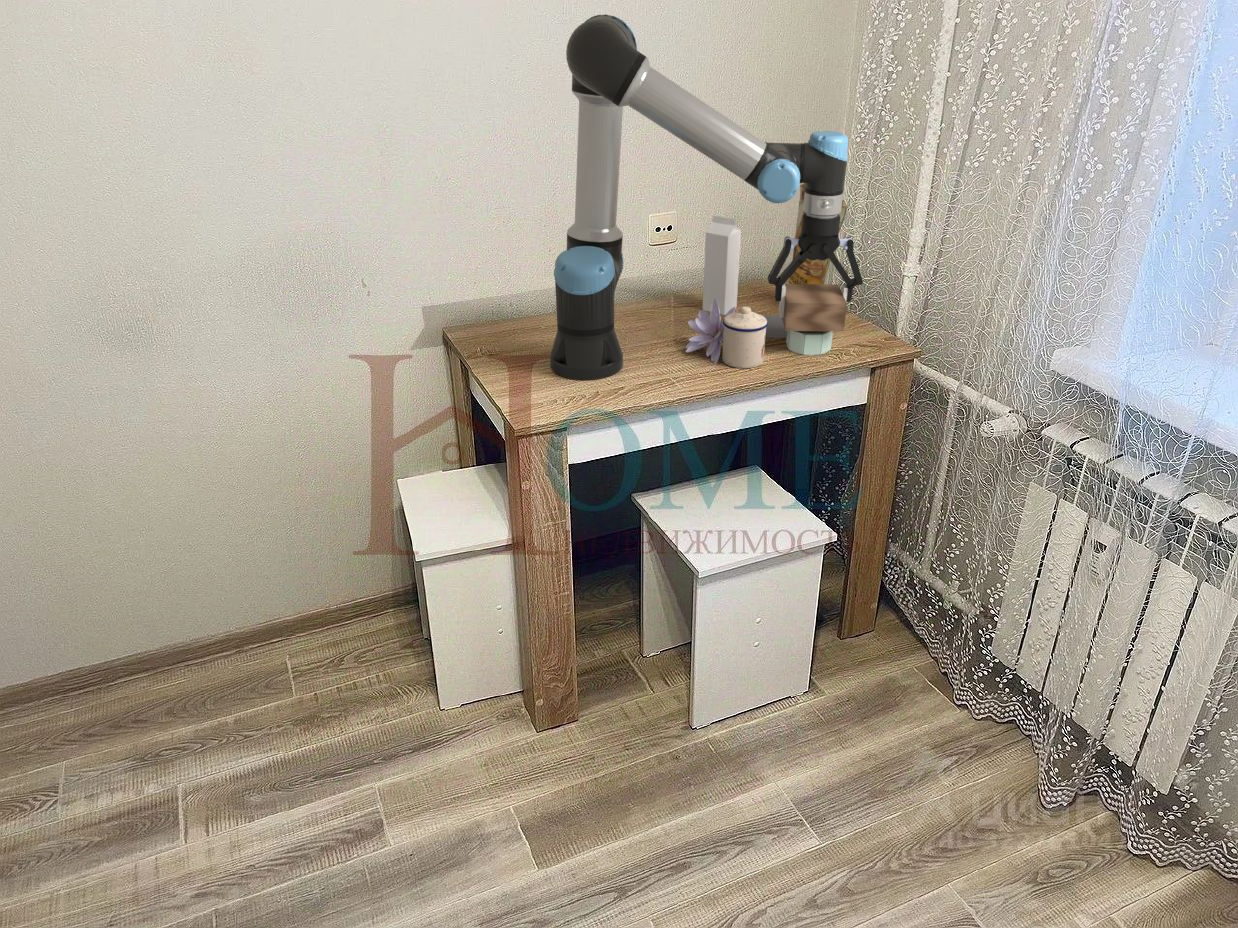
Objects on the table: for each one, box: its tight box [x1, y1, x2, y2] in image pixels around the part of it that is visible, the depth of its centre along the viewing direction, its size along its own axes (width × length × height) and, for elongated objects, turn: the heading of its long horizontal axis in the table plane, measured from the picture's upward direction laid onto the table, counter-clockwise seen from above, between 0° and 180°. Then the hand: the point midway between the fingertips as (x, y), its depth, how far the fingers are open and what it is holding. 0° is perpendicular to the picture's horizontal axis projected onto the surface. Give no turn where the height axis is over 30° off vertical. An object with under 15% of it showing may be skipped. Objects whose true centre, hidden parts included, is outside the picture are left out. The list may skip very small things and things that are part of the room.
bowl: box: [785, 331, 834, 356], centre depth 199 cm, size 9×9×5 cm
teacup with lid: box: [721, 306, 768, 369], centre depth 193 cm, size 12×9×12 cm
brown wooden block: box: [782, 283, 848, 332], centre depth 196 cm, size 12×12×6 cm
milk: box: [702, 215, 742, 316], centre depth 216 cm, size 6×6×22 cm
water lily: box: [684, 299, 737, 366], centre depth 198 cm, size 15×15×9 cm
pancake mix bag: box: [788, 183, 848, 284], centre depth 214 cm, size 7×19×28 cm, turn 14°
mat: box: [761, 314, 787, 339], centre depth 211 cm, size 14×14×1 cm
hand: (811, 316), depth 197 cm, fingers closed on brown wooden block, 12 cm apart
